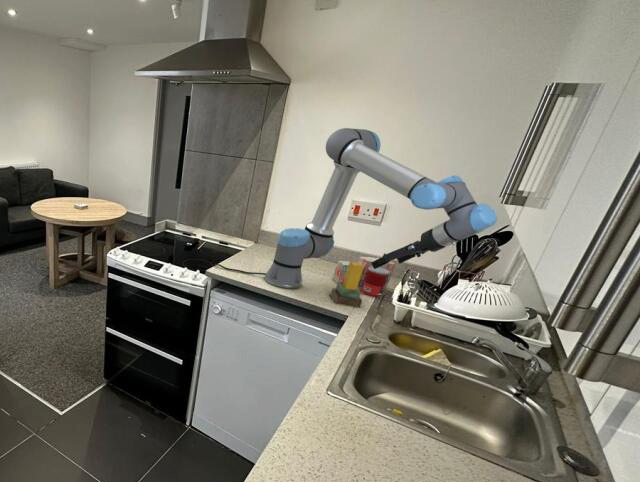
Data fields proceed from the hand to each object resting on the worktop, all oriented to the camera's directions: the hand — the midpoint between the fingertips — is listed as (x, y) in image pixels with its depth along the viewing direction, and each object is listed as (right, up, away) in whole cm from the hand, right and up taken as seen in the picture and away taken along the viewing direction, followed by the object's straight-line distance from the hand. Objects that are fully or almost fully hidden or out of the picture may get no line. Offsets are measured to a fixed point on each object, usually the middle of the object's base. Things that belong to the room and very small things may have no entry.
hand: (385, 263), depth 150 cm
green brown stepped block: (-11, -15, +9) cm, 20 cm away
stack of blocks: (+6, -8, +28) cm, 30 cm away
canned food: (+6, -12, +19) cm, 23 cm away
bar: (-11, -9, +6) cm, 15 cm away
